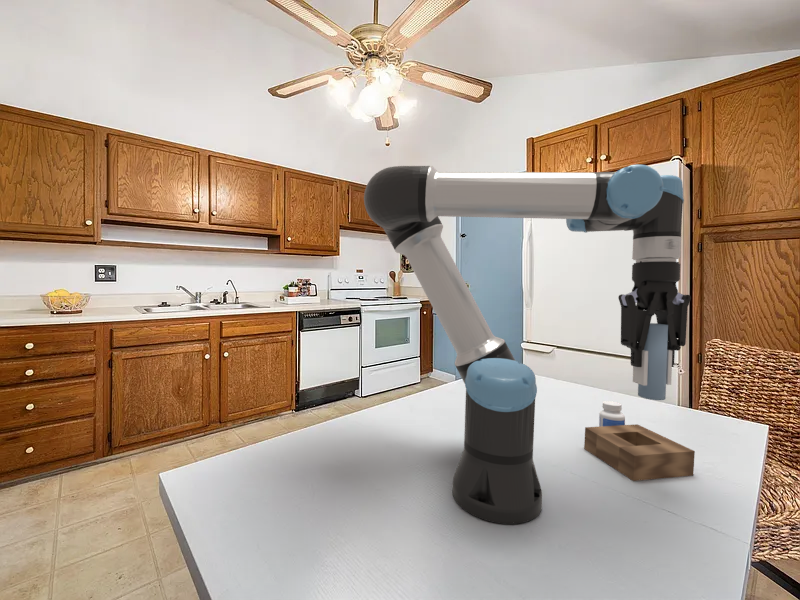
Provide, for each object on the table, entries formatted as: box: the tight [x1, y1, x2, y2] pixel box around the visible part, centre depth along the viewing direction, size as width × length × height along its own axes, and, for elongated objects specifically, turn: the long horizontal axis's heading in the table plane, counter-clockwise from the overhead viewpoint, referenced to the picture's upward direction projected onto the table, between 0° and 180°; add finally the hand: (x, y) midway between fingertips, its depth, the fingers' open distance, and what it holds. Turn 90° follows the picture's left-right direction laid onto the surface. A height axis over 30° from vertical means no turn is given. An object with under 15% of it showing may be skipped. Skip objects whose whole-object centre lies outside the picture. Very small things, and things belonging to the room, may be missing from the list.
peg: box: [637, 322, 668, 401], centre depth 71 cm, size 4×4×14 cm
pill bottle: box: [598, 400, 626, 427], centre depth 89 cm, size 6×5×10 cm
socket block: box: [583, 424, 696, 482], centre depth 80 cm, size 14×14×5 cm
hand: (651, 382), depth 71 cm, fingers closed on peg, 4 cm apart
